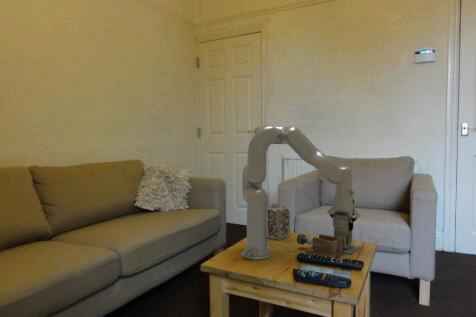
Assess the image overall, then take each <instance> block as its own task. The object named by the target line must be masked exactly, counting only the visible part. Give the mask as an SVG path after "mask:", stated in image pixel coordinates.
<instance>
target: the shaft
mask: <svg viewBox="0 0 476 317" xmlns="http://www.w3.org/2000/svg"><path fill="white" fill-rule="evenodd" d="M313 238H314V237H309V236H306V234H303V233H299V234H298V235H297V238H296V243H297V244H298V245H303V246H304V245H306V244H308V245H311V246H313Z"/></svg>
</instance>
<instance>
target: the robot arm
mask: <svg viewBox="0 0 476 317" xmlns="http://www.w3.org/2000/svg"><path fill="white" fill-rule="evenodd" d="M271 145H288V146H289V148H290V149H292V150H293V151H294V152H295V154H297V156H298V157H299V158H300V159H301V160H302V161H304V162H305V163H306V164H308V165H310V166H312V167H314V168H315V169H317V171H318V172H317V177H318V179H320V180H321V181H322V182H325V183H329V184H331V185H335V194H334V196H333V199H332V207H331V208H330V209H328V210H327V213H328V215H329V216H330V218H331V219H332V221H333V226H332V227H334V213H335V212H339V213H344V214H348V217H349V221H350V223H349V231H352V232H353V230H354V222H356V221H357V220H358V219H359V218H360V217H361V214H360V213H359V212H358V211H357V210H356V201H355V196H354V195H355V193H356V191H354V190H353V168H351V167H350V166H341V165H340V166H338V165H337V164H336V163H335V161H333V160H332V159H331V158H330V157H329V156H328V155H326V154H325V153H324V152H322V151H321V150H320V149H319V148H318V147H317V146H315V144H314V143H313V142H312V141H311V140H310V139H309V138H308V137H307V136H306V135H305V134H304V132H302V130H300V128H298V127H297V126H293V125H291V126H274V125H271V124H267V125H262V126H259V127H258V128H257V129H256V130H255V133H254V135H253V136H252V138H251V139H250V141H249V143H248V148H247V163H246V164H245V165H244V167H243V169H242V174H241V175H242V178H241V179H242V180H241V181H242V185H241V186H242V188H241V190H242V198H243V200H244V201H245V203H247V204H246V205H247V207H246V209H247V210H246V247H245V250H243V251H241V252H240V255H241V257H245V258H247V259H249V260H256V261H257V260H259V261H260V260H266V259H269V258H271V256H272V252H271V251H270V249H269V242H268V241H269V238H268V206H269V205H270V204H269V202H270V201H269V199H270V198H269V195H268V192H267V191H266V189H264V188H262V187H263V185H262V184H263V183H264V182H265V180H266V179H267V155H268V154H267V153H268V150H269V147H270V146H271Z"/></svg>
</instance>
